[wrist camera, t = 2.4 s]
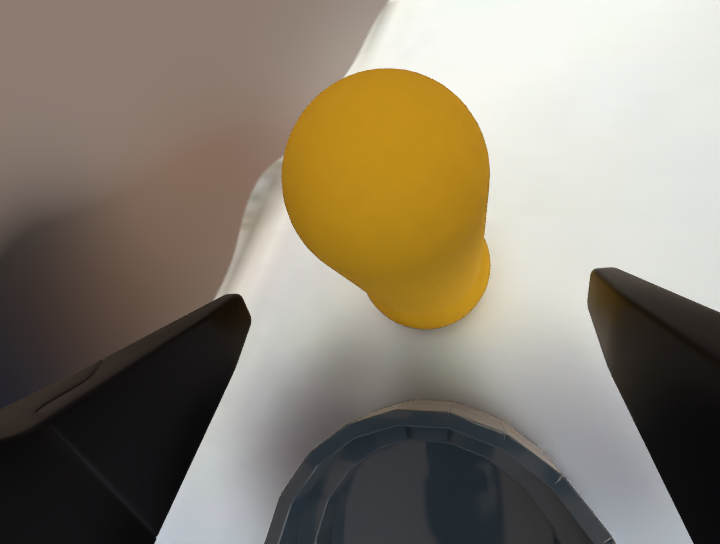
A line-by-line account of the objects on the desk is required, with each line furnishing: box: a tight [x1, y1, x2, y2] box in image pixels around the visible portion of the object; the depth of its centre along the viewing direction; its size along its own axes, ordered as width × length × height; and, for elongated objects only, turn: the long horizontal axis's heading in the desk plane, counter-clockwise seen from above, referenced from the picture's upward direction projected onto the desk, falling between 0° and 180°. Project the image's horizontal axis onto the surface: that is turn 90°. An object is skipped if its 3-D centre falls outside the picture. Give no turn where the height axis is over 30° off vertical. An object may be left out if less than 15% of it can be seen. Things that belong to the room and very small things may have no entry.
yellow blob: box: [282, 69, 490, 329], centre depth 13 cm, size 6×6×14 cm
